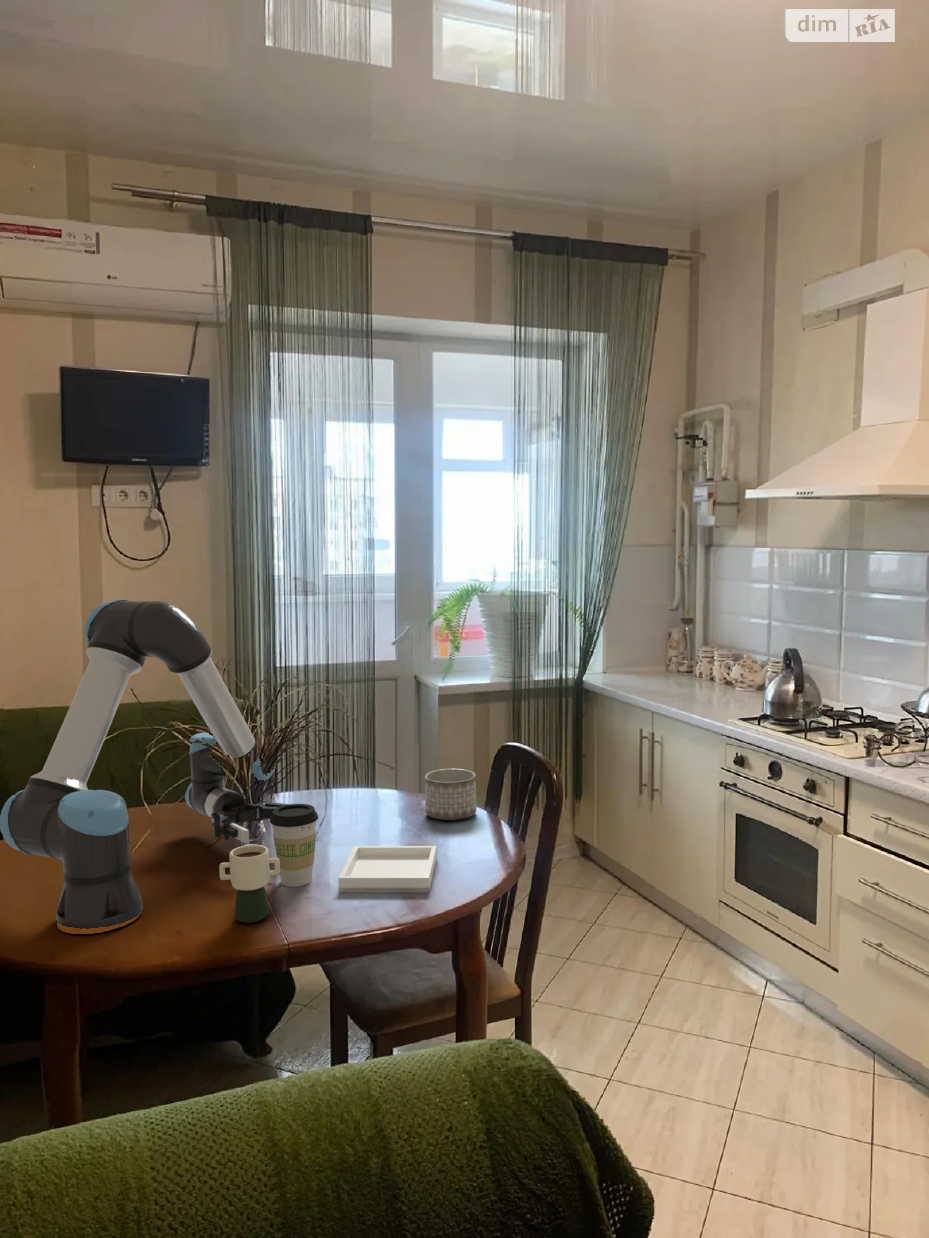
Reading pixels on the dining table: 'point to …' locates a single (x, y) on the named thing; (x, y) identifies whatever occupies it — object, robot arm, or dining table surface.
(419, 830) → the dining table surface
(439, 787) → the planter
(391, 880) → the tray
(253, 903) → the character mug
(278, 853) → the coffee cup
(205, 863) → the dining table surface
